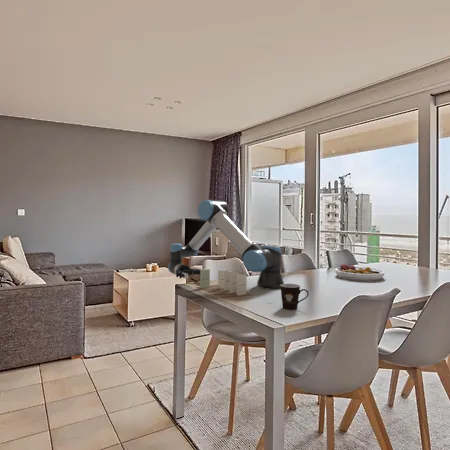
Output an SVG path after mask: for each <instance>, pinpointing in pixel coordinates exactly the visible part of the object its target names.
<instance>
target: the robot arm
mask: <svg viewBox="0 0 450 450" xmlns="http://www.w3.org/2000/svg"><path fill="white" fill-rule="evenodd" d="M197 210H198V211H197V214H198V216H199V219H200V220H203V221H206V222H205V223H204V224H203V225H202V226H201V228H200V229H199V230H198V231H197V233H196V234H195V235H194V236H193V237H192V239H191V240H190V241H189V242H188V244H187V245H183V244H182V243H171V244H170V248H169V252H170V253H169V254H170V255H169V257H170V261H169V263H168V266H167V269H168V272H170V273H171V274H173V275H176V276H175V277H176V278H179V279H182V278H183V279H186V280H188V279H189V276H195V275H199V276H200V270H202V269H199V268H191V267H190V266H189V265H187V264H184V263H183V259H184V258H191V257H196V256H197V255H198V254H199V249H200V248H201V247H202V246H203V245H204V243H205V242H206V241H207V240H208V239H209V238H210V237H211V235H212V234H213V233H214V231H216V229H218V230H219V231H220V233H222V235H224V236H225V238H226V239H227V240H228V241H229V242H230V243H231V244H232V245H233V246H234V247H235V248H236V250H237V251H238V252H239V253H240V254H241V255H240V258H241V259H242V262H243V263H242V264H243V266H244V268H245V269H246V270H248V272H251V273H259V276H258V279H257V283H256V284H257V287H260V288H263V289H266V290H281V286H280V285H281V284H285V283H284V279H283V276H282V249H281V247H279V246H269V245H261V246H260V245H259V244H258V243H257V242H252V241H251V240H250V239H249V238H248V236H247V235H245V233H244V232H243V231H242V230H241V229H239V227H238V226H237V225H236V224H235V223H234V222H233V221H232V220H231V219H230V217H229V214H230V207H229V204H227V202H226V201H224V200H219V199H217V200H216V199H204V200H202V201H201V202H200V203H199V205H198V208H197Z"/></svg>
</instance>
